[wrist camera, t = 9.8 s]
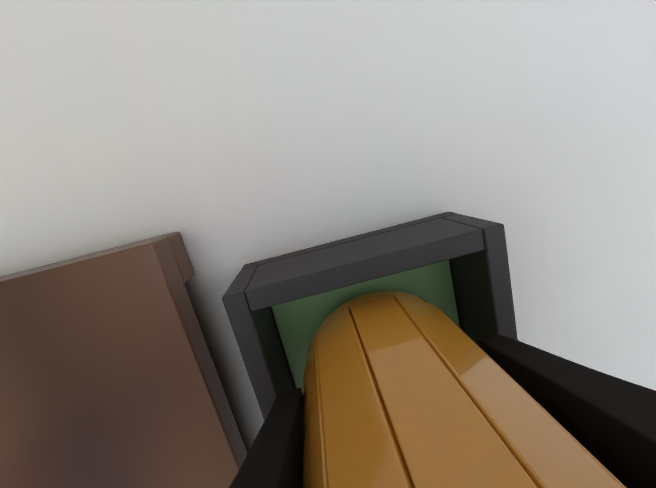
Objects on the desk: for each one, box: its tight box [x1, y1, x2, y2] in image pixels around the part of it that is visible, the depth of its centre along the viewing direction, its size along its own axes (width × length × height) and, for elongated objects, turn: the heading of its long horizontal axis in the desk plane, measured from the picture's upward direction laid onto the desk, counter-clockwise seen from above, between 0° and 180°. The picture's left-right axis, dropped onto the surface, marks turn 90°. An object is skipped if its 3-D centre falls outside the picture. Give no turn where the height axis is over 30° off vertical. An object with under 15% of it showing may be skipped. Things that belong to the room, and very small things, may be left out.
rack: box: [222, 212, 518, 420], centre depth 11 cm, size 8×15×3 cm, turn 14°
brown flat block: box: [0, 232, 248, 488], centre depth 11 cm, size 10×12×2 cm
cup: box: [303, 291, 627, 488], centre depth 7 cm, size 5×5×6 cm
